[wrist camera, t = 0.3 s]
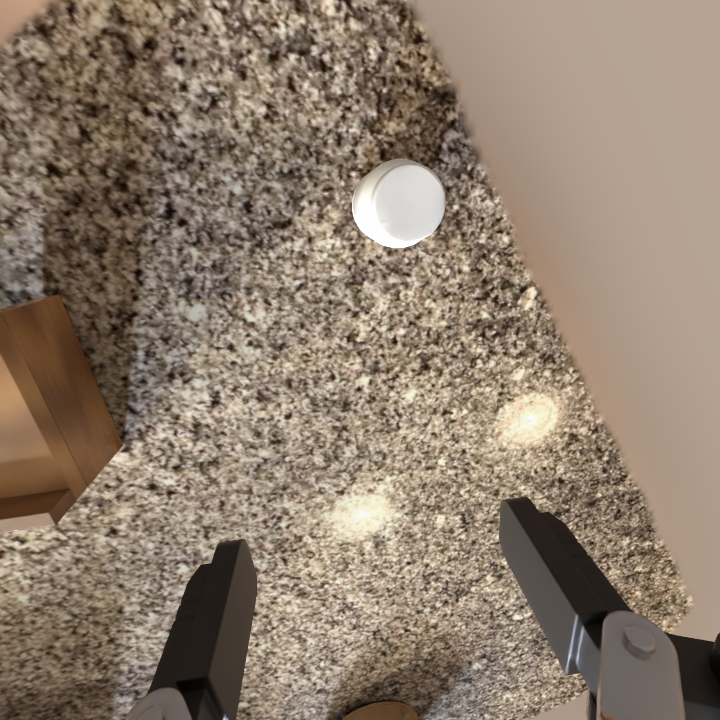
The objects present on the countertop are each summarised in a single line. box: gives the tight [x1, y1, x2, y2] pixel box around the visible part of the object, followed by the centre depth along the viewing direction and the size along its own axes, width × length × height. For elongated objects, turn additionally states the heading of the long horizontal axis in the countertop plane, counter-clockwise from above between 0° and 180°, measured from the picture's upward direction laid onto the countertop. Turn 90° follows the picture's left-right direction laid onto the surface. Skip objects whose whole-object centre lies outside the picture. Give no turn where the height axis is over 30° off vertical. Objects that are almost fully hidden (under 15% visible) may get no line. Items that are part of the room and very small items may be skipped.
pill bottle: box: [352, 159, 446, 248], centre depth 21 cm, size 4×4×8 cm
